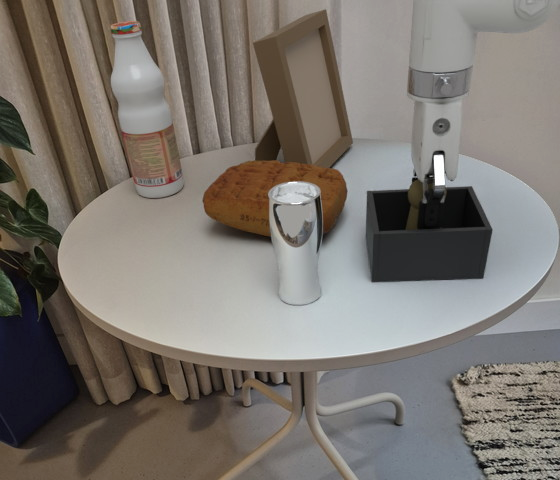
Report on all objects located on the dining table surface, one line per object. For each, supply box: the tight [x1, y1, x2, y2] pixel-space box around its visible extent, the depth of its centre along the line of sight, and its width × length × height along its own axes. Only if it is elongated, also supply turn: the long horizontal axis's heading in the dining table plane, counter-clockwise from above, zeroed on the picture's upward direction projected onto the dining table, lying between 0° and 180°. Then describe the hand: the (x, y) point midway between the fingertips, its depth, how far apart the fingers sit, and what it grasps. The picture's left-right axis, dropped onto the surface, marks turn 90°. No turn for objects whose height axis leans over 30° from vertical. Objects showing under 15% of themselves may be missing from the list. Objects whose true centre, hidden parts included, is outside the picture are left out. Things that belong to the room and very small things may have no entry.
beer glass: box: [268, 181, 324, 306], centre depth 76 cm, size 7×7×15 cm
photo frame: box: [252, 8, 354, 168], centre depth 108 cm, size 15×22×25 cm
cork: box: [405, 178, 447, 230], centre depth 82 cm, size 6×6×11 cm
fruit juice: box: [110, 20, 185, 199], centre depth 103 cm, size 9×9×28 cm
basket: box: [365, 185, 494, 283], centre depth 84 cm, size 16×14×8 cm
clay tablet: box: [202, 160, 348, 238], centre depth 95 cm, size 22×17×8 cm
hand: (424, 215), depth 82 cm, fingers open, 7 cm apart
